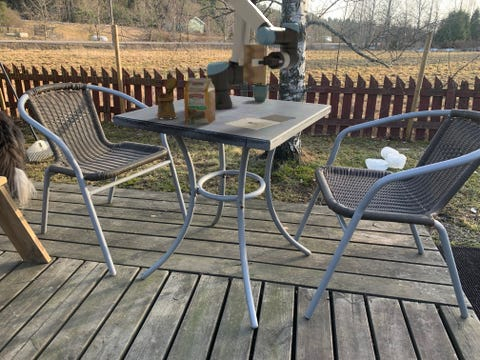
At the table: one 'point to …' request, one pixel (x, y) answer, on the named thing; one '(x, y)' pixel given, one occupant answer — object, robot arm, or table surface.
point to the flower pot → (260, 92)
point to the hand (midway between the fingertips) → (246, 62)
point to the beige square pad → (252, 123)
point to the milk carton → (199, 101)
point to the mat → (278, 118)
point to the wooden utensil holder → (167, 100)
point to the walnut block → (251, 72)
